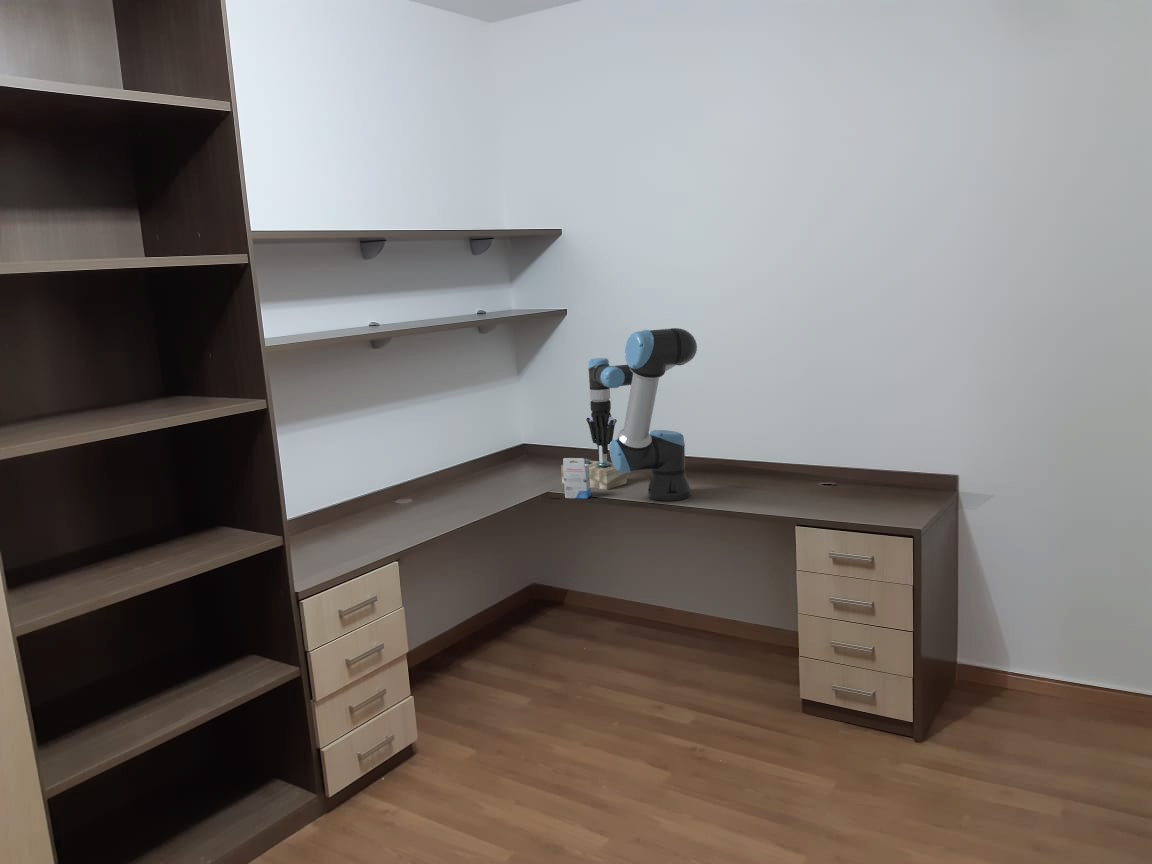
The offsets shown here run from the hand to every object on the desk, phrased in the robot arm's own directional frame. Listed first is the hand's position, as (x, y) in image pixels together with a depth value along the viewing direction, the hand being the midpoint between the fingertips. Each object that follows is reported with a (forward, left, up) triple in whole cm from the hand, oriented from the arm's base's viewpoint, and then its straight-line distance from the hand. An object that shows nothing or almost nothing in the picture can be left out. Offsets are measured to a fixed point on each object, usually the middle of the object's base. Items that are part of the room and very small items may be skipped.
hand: (603, 462), depth 340 cm
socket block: (+5, 0, -9) cm, 10 cm away
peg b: (0, 0, -8) cm, 8 cm away
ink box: (-3, +19, -9) cm, 21 cm away
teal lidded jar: (+10, 0, -8) cm, 13 cm away
